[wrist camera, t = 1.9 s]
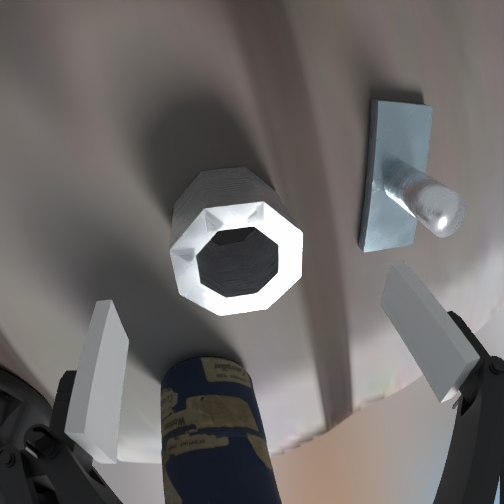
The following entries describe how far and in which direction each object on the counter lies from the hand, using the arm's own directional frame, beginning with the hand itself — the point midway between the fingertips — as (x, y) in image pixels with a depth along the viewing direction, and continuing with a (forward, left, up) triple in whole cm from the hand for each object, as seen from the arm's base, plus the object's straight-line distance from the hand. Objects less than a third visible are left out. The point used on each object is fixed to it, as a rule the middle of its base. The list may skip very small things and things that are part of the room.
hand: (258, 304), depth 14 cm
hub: (0, 0, -10) cm, 10 cm away
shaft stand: (+13, +2, -10) cm, 16 cm away
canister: (-4, -18, -10) cm, 21 cm away
